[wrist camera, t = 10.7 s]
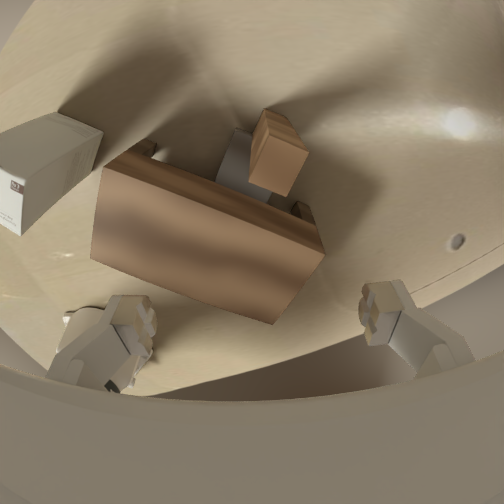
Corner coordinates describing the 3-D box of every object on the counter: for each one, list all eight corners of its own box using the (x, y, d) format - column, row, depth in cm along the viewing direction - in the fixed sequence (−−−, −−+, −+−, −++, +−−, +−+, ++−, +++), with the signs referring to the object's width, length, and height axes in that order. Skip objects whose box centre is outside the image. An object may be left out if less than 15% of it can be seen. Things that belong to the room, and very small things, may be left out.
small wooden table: (270, 269, 37) (272, 324, 30) (124, 213, 33) (90, 258, 25) (309, 206, 32) (325, 255, 24) (143, 138, 28) (103, 166, 20)
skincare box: (46, 151, 28) (-35, 205, 15) (56, 107, 25) (-35, 147, 12) (94, 174, 30) (19, 242, 18) (108, 130, 27) (22, 181, 15)
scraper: (247, 101, 26) (238, 122, 14) (302, 124, 27) (336, 166, 15) (193, 238, 35) (166, 325, 24) (239, 254, 36) (231, 345, 25)
